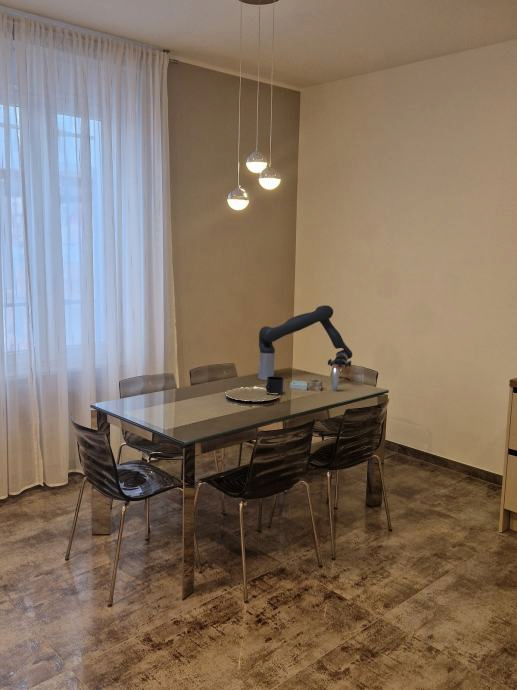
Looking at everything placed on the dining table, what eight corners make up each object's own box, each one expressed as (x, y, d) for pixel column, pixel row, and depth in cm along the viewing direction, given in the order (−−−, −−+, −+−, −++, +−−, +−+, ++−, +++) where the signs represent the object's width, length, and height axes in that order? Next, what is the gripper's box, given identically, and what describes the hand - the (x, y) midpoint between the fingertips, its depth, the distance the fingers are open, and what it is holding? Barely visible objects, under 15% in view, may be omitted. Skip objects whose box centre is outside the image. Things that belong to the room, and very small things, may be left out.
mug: (259, 393, 358) (260, 378, 356) (274, 390, 366) (275, 375, 365) (271, 397, 351) (272, 381, 350) (286, 393, 360) (286, 378, 358)
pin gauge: (331, 391, 369) (332, 366, 366) (331, 389, 373) (333, 365, 370) (337, 391, 368) (338, 367, 366) (337, 390, 372) (339, 365, 369)
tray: (289, 388, 372) (290, 384, 371) (293, 384, 381) (293, 380, 381) (306, 390, 369) (306, 385, 369) (309, 386, 379) (309, 382, 378)
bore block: (306, 389, 370) (307, 381, 369) (308, 386, 378) (309, 378, 377) (320, 391, 368) (320, 383, 367) (322, 388, 376) (322, 380, 375)
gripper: (330, 353, 395) (327, 358, 380) (352, 354, 392) (350, 360, 376) (329, 365, 397) (326, 370, 381) (352, 366, 393) (349, 372, 378)
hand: (338, 365), depth 379 cm, fingers open, 8 cm apart
